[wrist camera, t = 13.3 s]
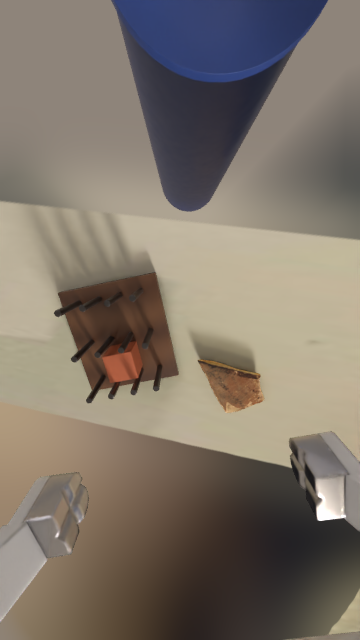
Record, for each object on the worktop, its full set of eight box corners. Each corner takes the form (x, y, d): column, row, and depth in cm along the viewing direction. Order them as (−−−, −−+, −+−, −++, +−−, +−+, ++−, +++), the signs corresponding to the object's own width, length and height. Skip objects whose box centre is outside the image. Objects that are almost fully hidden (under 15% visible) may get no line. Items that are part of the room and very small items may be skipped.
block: (110, 345, 34) (101, 357, 30) (136, 340, 34) (130, 351, 30) (117, 369, 35) (110, 383, 31) (142, 364, 35) (138, 378, 31)
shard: (196, 356, 36) (197, 361, 34) (242, 336, 35) (245, 340, 33) (223, 409, 38) (226, 416, 37) (266, 392, 38) (271, 398, 36)
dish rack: (61, 291, 33) (30, 301, 26) (155, 272, 32) (149, 276, 26) (94, 387, 37) (75, 416, 31) (178, 372, 37) (178, 398, 30)
